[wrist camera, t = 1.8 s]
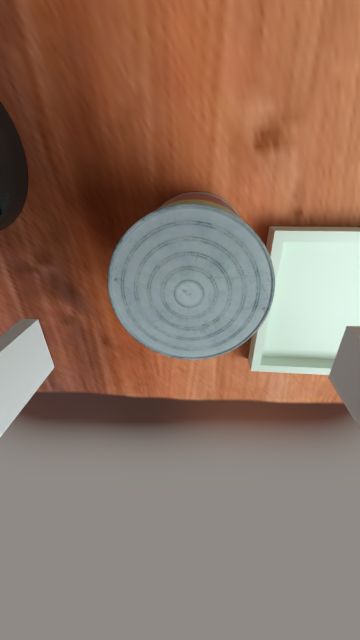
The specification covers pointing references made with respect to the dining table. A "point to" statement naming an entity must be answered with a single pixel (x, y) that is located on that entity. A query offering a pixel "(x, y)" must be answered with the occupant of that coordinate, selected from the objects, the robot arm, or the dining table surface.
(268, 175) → the dining table surface
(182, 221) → the canned food
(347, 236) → the tray
